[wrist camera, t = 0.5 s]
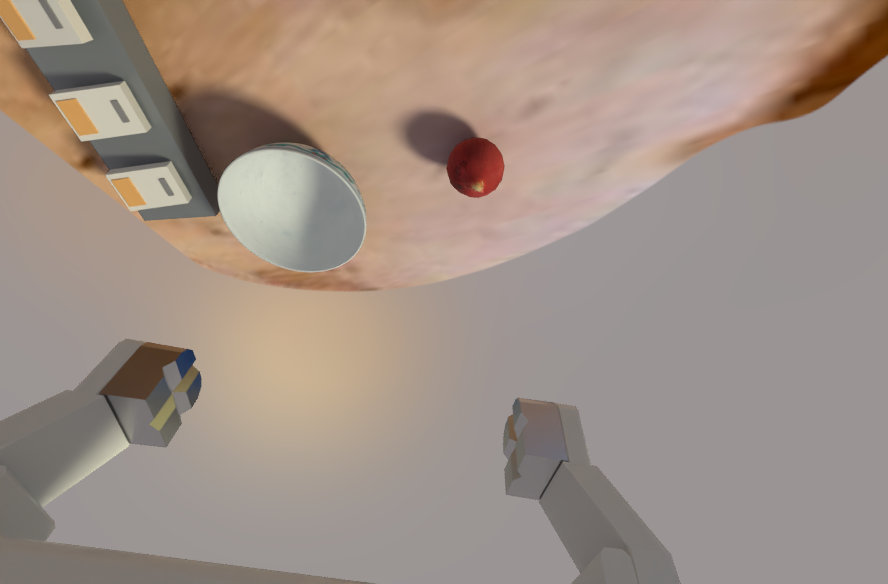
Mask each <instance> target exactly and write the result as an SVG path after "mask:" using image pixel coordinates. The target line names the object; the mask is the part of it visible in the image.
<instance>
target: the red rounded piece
mask: <svg viewBox="0 0 888 584" xmlns="http://www.w3.org/2000/svg"><path fill="white" fill-rule="evenodd" d="M447 172H448V176H449V179H450V183H451V184H452V186H453V187H454V188H455V189H456V190H458V191H459V192H460V193H462V194H464V195H467V196H469V197H477V198H479V197H482V196H486V195H488V194H489V193H491V192H492V191H494V190H495V189H496V188H497V186H498V185H499V183H500V182H501V180H502V177H503V172H504V162H503V157H502V154H501V153H500V151H499V150H498V148H497V147H496V145H495V144H493V143H491V142H490V141H488V140H487V139H483V138H471V139H466V140H464V141H462V142H461V143H459V144H458V145H456V147H455V148H454V149H453V151H452V152H451V154H450V156H449V159H448V164H447Z"/></svg>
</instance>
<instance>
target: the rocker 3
mask: <svg viewBox="0 0 888 584" xmlns="http://www.w3.org/2000/svg"><path fill="white" fill-rule="evenodd" d="M105 176H106V177H107V179H108V180H109V181H110V183H111V184H112V186H113V187H114V188H115V190H116V191H117V193H118V194H119V196H120V197H121V198H122V200H123V201H124V203H125V204H126V205H127V207H128V208H129V210H130V211H136V210H143V209H150V208H157V207H164V206H171V205H178V204H185V203H189V201H190V200H191V198H192V197H191V195H190V193H189V192H188V190H187V188H186V186H185V185H184V183H183V181H182V179H181V178H180V176H179V174H178V172H177V171H176V169H175V167H174V165H173V164H172V162H171V161H168V162H161V163H153V164H146V165H139V166H132V167H125V168H118V169H111V170H110V171H109V172H108V173H107V174H106V175H105Z"/></svg>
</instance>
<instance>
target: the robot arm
mask: <svg viewBox="0 0 888 584" xmlns="http://www.w3.org/2000/svg"><path fill="white" fill-rule="evenodd" d="M195 360H196V358H195V355H194V352H193V350H189V349H184V348H178V347H173V346H167V345H161V344H155V343H150V342H144V341H137V340H131V339H125V340H123V341H121V342H119V343H118V344H117V345H116V346H115V348H113V349H112V350H111V351H110V352H109V354H108V355H107V356H106V357H105V358H104V359H103V360H102V361H101V362H100V363H99V364H98V365H97V366H96V367H95V368H94V369H93V371H91V373H90V374H89V375H88V376H87V377H86V378H85V379H84V380H83V381H82V382H81V383H80V384H79V385H78V386H77V388H75V389H74V390H73V391H69V390H66V391H64V392H62V393H59V394H57V395H55V396H53V397H51V398H49V399H46V400H44V401H43V402H40V403H38V404H36V405H34V406H31V407H29V408H27V409H25V410H23V411H21V412H19V413H16V414H14V415H12V416H10V417H8V418H6V419H4V420H2V421H0V584H374V583H367V582H359V581H351V580H342V579H336V578H327V577H320V576H311V575H304V574H296V573H289V572H281V571H273V570H266V569H257V568H250V567H242V566H234V565H227V564H219V563H211V562H203V561H196V560H187V559H180V558H172V557H164V556H156V555H149V554H141V553H133V552H125V551H118V550H110V549H101V548H94V547H86V546H79V545H71V544H62V543H55V542H47V541H46V540H47V538H48V537H49V535H50V534H51V533H52V531H53V530H54V529H55V522H54V520H53V519H52V518H51V517H50V516H49V515H48V513H47V512H46V511H45V510H44V509H43V508H42V507H43V506H45V505H46V504H48V503H49V502H50V501H52V500H53V499H55V498H56V497H58V496H59V495H60V494H62V493H63V492H64V491H66V490H67V489H69V488H70V487H72V486H73V485H74V484H76V483H77V482H79V481H80V480H82V479H83V478H84V477H86V476H87V475H89V474H90V473H91V472H93V471H94V470H96V469H97V468H98V467H100V466H101V465H103V464H104V463H106V462H107V461H108V460H110V459H111V458H113V457H114V456H115V455H117V454H118V453H120V452H121V451H122V450H124V449H125V448H127V447H128V446H129V443H132V444H140V445H149V446H158V447H167V446H168V444H169V442H170V441H171V439H172V438H173V436H174V435H175V433H176V432H177V430H178V429H179V427H180V425H181V424H182V423H181V418H180V415H181V414H182V413H184V412H186V411H188V410H189V409H191V408H192V407H193V405H194V403H195V402H196V400H197V398H198V395H199V392H200V389H201V375H200V372H199V371H198V370H197V369H196V368H195V367H194V366H193V363H194V361H195ZM503 450H504V454H505V456H506V457H507V458H508V462H507V465H506V467H505V469H504V470H505V486H506V495H511V496H517V497H523V498H529V499H535V500H540V501H539V503H540V505H541V507H542V508H543V510H544V511H545V514H546V515H547V517H548V519H549V520H550V522H551V524H552V525H553V527H554V529H555V531H556V532H557V534H558V536H559V538H560V539H561V541H562V543H563V544H564V546H565V548H566V550H567V551H568V553H569V555H570V556H571V558H572V560H573V561H574V563H575V565H576V567H577V568H578V570H579V572H580V575H579V576H578V577H577V578H576V579H575V580H574V582H572V584H681V583H680V580H679V577H678V574H677V571H676V568H675V565H674V562H673V559H672V556H671V554H670V553H669V551H668V550H667V549H666V548H665V547H664V546H663V544H662V543H661V542H660V541H659V540H658V538H657V537H656V536H655V535H654V534H653V532H652V531H651V530H650V529H649V528H648V527H647V525H646V524H645V523H644V522H643V521H642V519H641V518H640V517H639V516H638V515H637V513H636V512H635V511H634V510H633V509H632V507H631V506H630V505H629V504H628V503H627V502H626V501H625V499H624V498H623V497H622V496H621V494H620V493H619V492H618V491H617V490H616V488H615V487H614V486H613V485H612V484H611V482H610V481H609V480H608V479H607V478H606V477H605V475H604V474H603V473H602V472H601V471H600V469H599V468H598V467H597V466H593V465H591V463H590V459H589V455H588V450H587V446H586V442H585V437H584V433H583V428H582V424H581V420H580V416H579V411H578V409H577V408H576V406H571V405H564V404H558V403H553V402H545V401H539V400H531V399H523V398H517V399H516V400H515V402H514V404H513V415H511V416H509V417H508V420H507V422H506V425H505V430H504V437H503Z"/></svg>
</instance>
